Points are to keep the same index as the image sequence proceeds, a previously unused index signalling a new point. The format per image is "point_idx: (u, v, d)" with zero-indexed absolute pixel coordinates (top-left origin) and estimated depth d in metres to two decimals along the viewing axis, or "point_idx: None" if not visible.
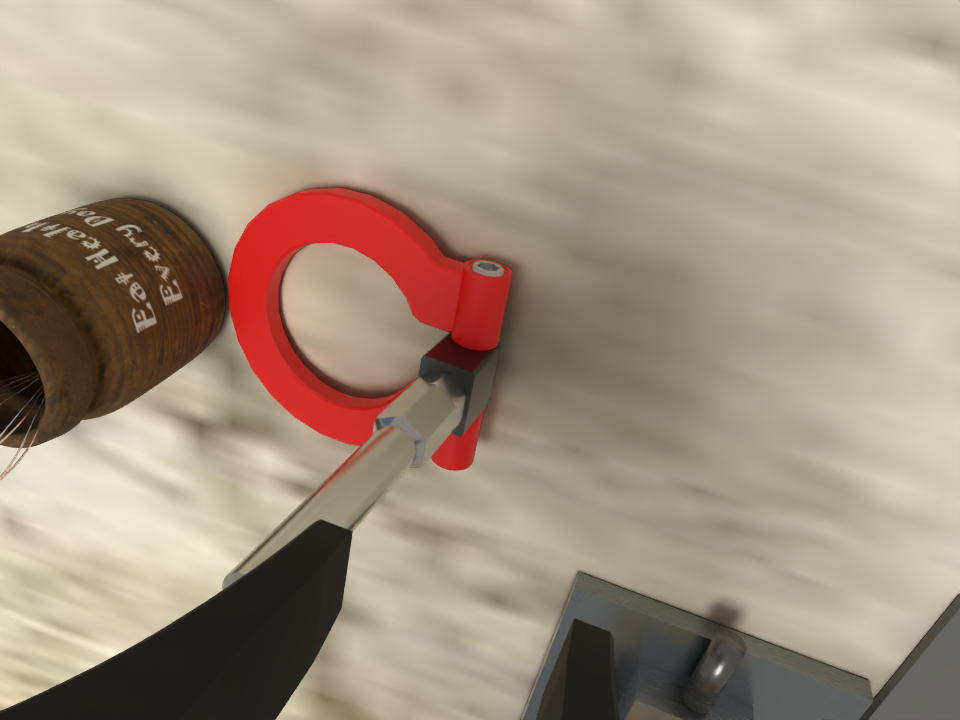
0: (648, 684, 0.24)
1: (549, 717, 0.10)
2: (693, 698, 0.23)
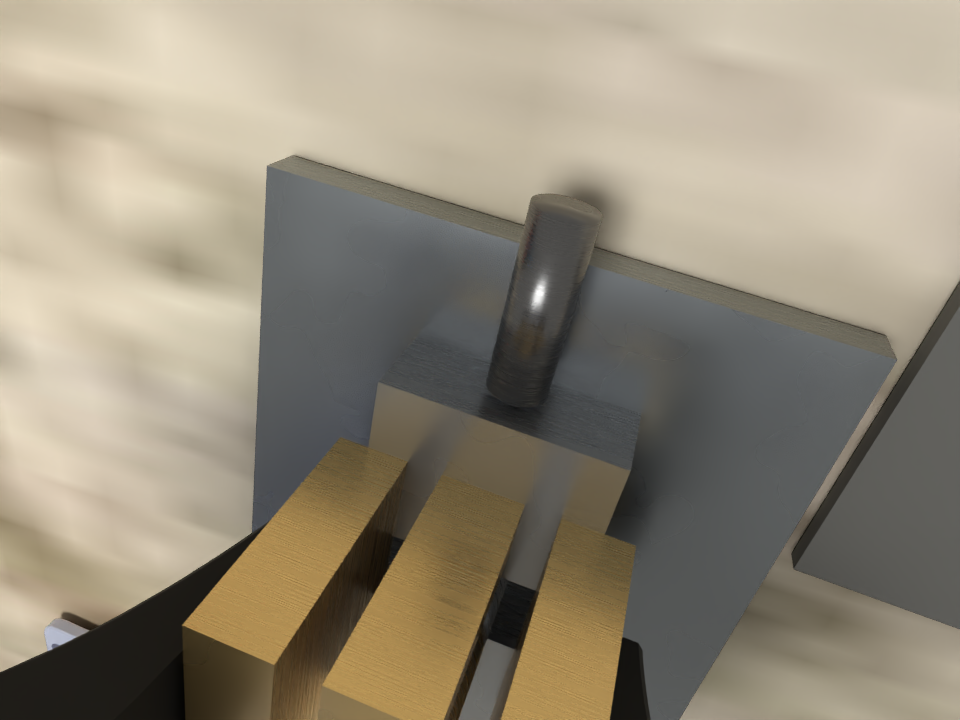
0: (420, 366, 0.11)
1: None
2: (499, 370, 0.10)
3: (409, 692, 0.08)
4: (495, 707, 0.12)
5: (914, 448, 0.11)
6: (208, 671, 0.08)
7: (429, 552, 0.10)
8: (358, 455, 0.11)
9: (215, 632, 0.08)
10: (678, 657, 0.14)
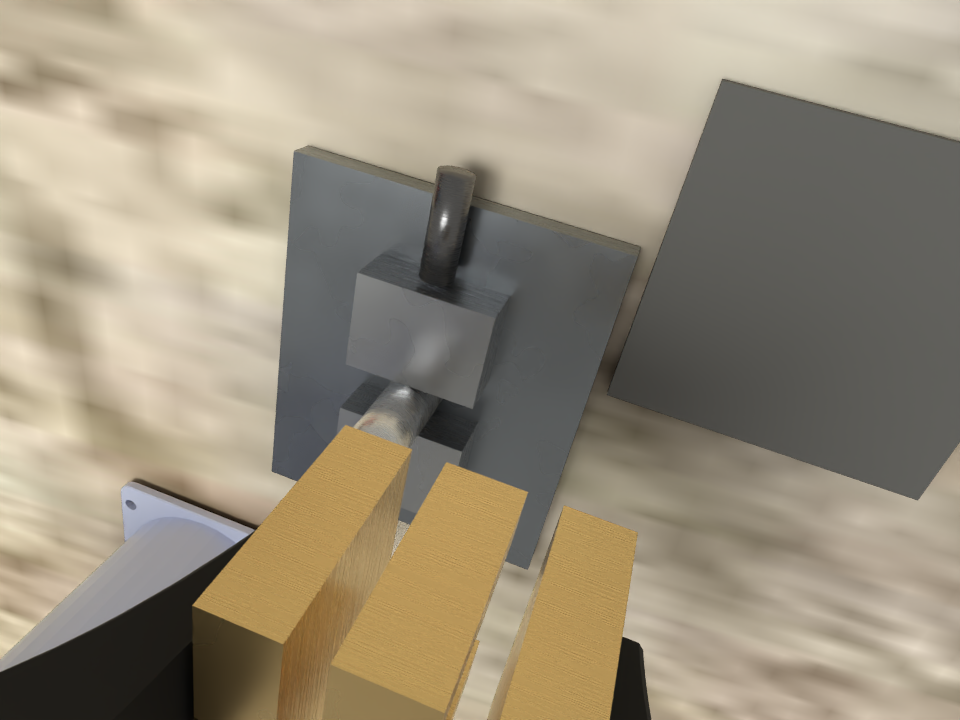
0: (382, 266, 0.20)
1: None
2: (424, 264, 0.19)
3: (416, 671, 0.08)
4: (497, 693, 0.12)
5: (659, 311, 0.19)
6: (217, 651, 0.09)
7: (435, 537, 0.10)
8: (363, 442, 0.11)
9: (225, 612, 0.08)
10: (545, 459, 0.22)
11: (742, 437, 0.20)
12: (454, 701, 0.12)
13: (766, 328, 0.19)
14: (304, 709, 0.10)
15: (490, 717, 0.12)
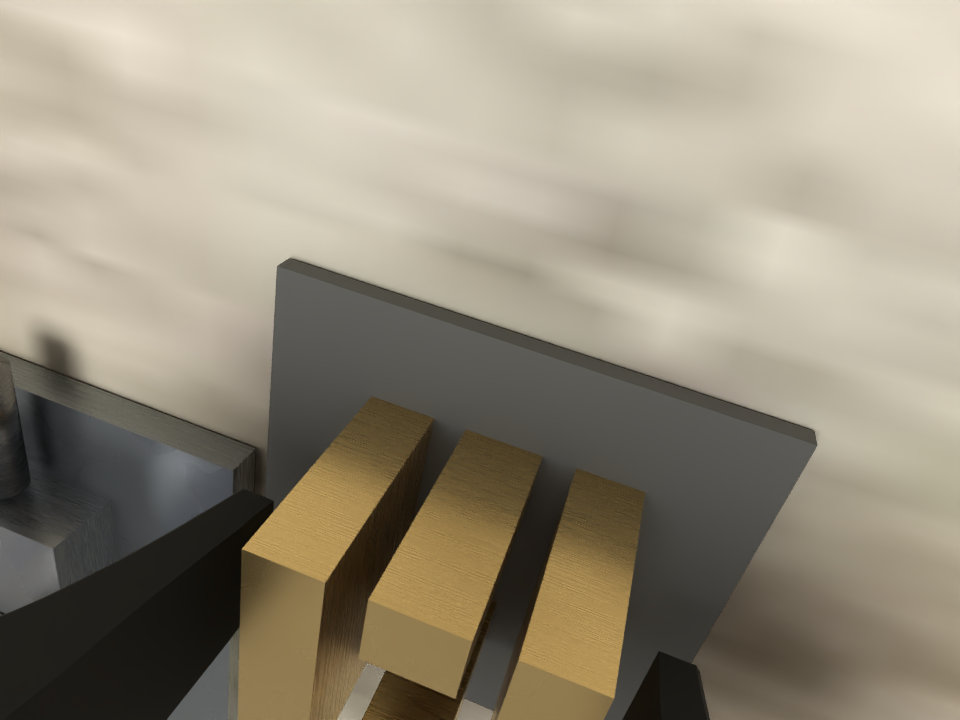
0: None
1: None
2: None
3: (445, 607, 0.09)
4: (514, 647, 0.13)
5: None
6: (263, 593, 0.09)
7: (458, 494, 0.11)
8: (389, 412, 0.12)
9: (271, 555, 0.09)
10: (206, 677, 0.18)
11: None
12: (474, 655, 0.13)
13: None
14: (338, 654, 0.11)
15: (509, 668, 0.12)
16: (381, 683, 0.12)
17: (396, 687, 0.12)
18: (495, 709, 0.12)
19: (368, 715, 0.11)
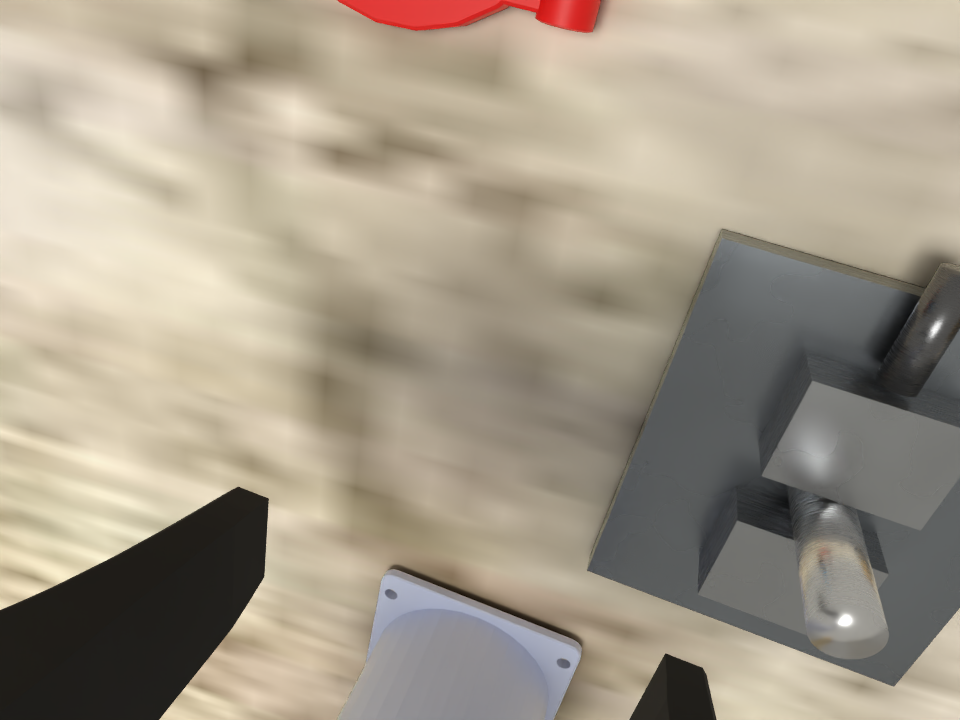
0: (824, 370, 0.17)
1: None
2: (897, 373, 0.16)
3: None
4: None
5: None
6: None
7: None
8: None
9: None
10: (956, 575, 0.20)
11: None
12: None
13: None
14: None
15: None
16: None
17: None
18: None
19: None
